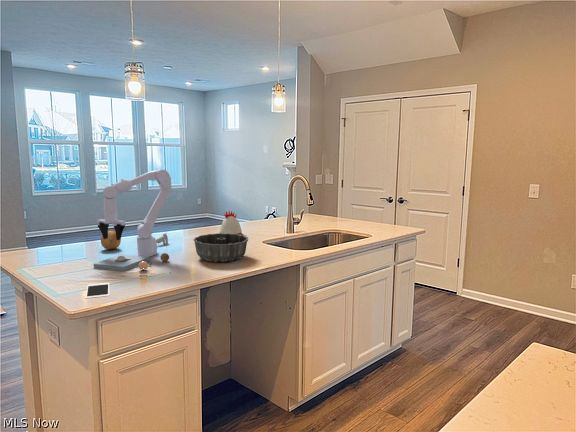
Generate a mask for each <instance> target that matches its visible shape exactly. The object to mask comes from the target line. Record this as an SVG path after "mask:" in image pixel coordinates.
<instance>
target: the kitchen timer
mask: <svg viewBox="0 0 576 432" xmlns="http://www.w3.org/2000/svg"><path fill="white" fill-rule="evenodd" d="M223 216H224V219H223V221H222V222H221V225H220V228H219V233H223V234H227V233H229V234H239V235H242V234H243V233H242V232H243V231H242V228H241V223H240V222H239V220H238V219H237V216H238V215H237V213H236V214H235V212H233V210H229V211H225V213H223ZM242 236H243V235H242Z"/></svg>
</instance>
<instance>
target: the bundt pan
mask: <svg viewBox="0 0 576 432" xmlns="http://www.w3.org/2000/svg"><path fill="white" fill-rule="evenodd" d="M193 242H194V247H195V251H196V254H197V256H198V257H199V258H200V259H201V260H203V261H208V262H214V263H218V262H221V263H225V262H233V261H237V260H239V259H241V258H243V257H244V256H245V254H246V250H247V245H248V242H249V237H247V236H245V235H239V234H229V233H227V234H223V233H220V232H219V233H208V234H201V235H198V236H194V238H193Z"/></svg>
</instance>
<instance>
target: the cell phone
mask: <svg viewBox="0 0 576 432" xmlns="http://www.w3.org/2000/svg"><path fill="white" fill-rule="evenodd" d="M110 284H111V283H110V282H103V283H92V284H87V286H86V293H85V298H84V299H94V298H102V297H109V296H110Z"/></svg>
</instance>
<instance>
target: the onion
mask: <svg viewBox="0 0 576 432" xmlns="http://www.w3.org/2000/svg"><path fill="white" fill-rule="evenodd" d="M121 242H122V238H121V239H120V240H117V239H116V232H115V230H108V238H107V239H104V238H103V235H102V234H101V236H100V244H101V246H102V247H103V248H104V249H105V250H116V249H118V248H119V247H120V245H121Z"/></svg>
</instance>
